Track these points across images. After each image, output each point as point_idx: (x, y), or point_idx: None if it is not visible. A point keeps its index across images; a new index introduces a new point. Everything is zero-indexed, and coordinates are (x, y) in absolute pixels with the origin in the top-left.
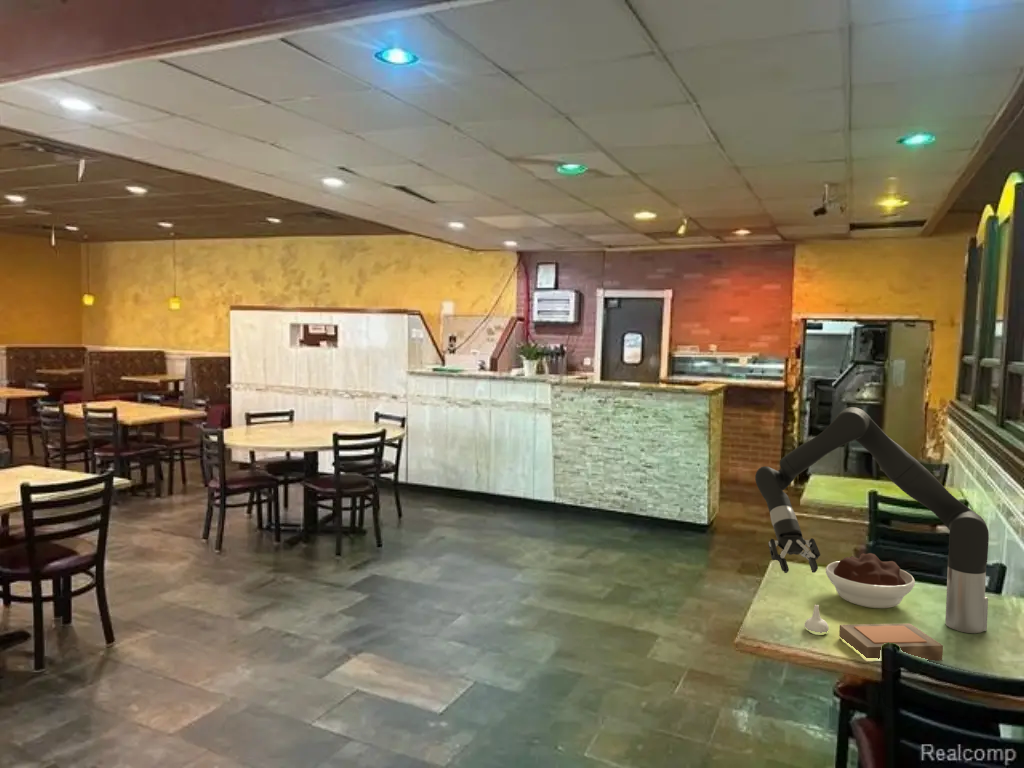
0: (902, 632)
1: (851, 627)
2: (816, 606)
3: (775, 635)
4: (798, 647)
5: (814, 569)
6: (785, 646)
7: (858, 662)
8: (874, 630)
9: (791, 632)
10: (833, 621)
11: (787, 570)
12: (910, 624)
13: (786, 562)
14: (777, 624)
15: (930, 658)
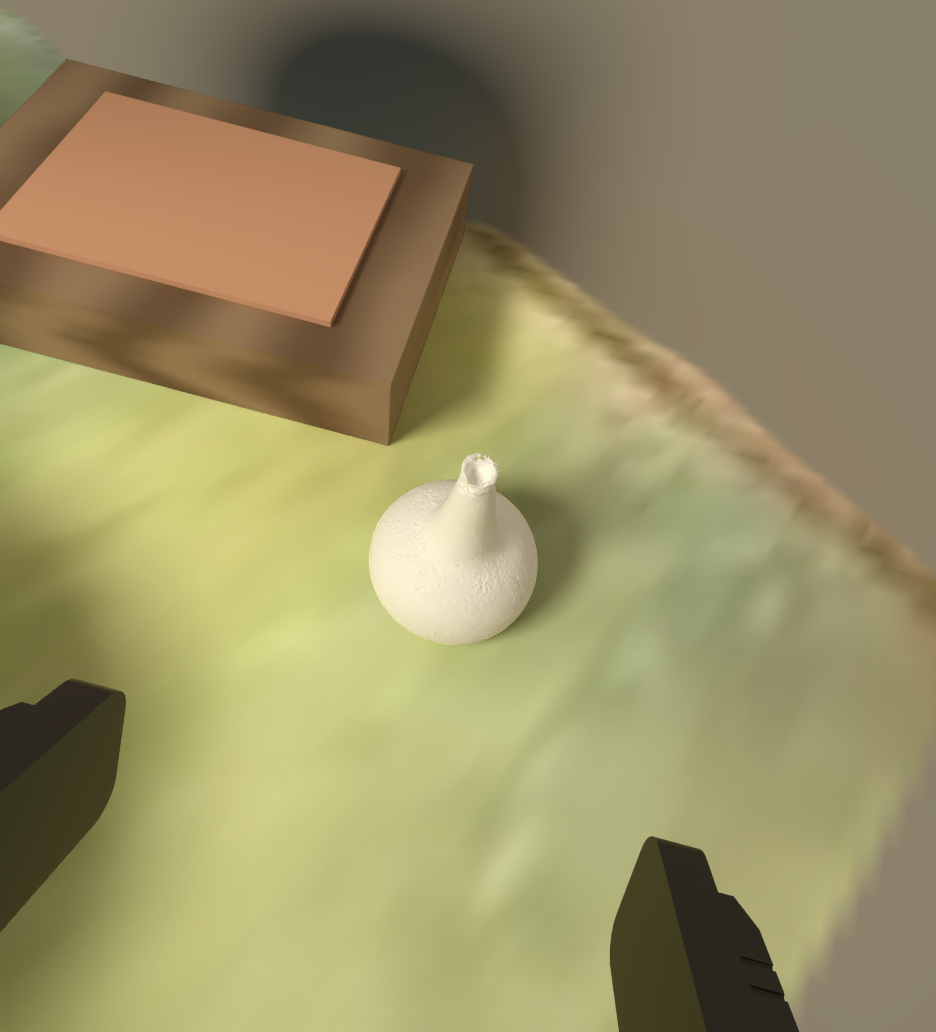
0: (112, 182)
1: (346, 334)
2: (488, 466)
3: (769, 610)
4: (707, 440)
5: (116, 705)
6: (776, 472)
7: (504, 246)
8: (254, 248)
9: (634, 616)
10: (167, 682)
11: (673, 844)
12: None
13: (697, 968)
14: (662, 772)
15: None
